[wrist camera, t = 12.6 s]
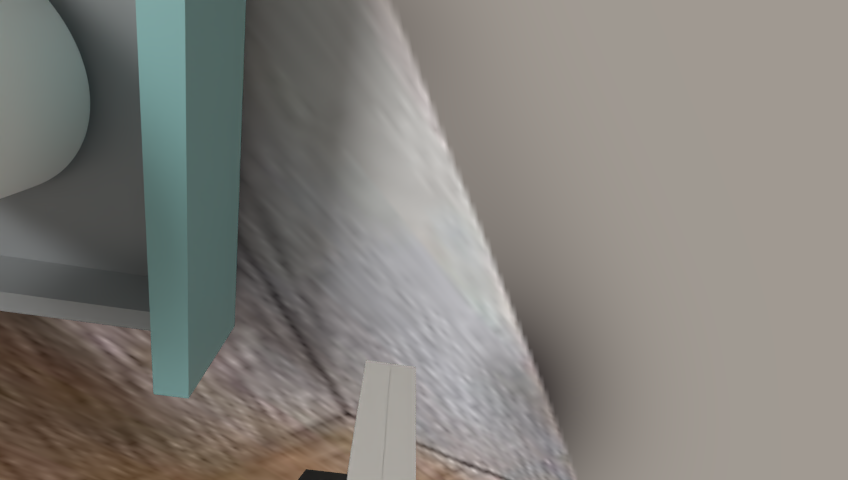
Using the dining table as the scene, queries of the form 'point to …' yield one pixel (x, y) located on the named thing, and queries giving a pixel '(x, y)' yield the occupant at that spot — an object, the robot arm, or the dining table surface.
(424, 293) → the dining table surface
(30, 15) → the beverage can
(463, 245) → the dining table surface
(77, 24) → the teal drawer
